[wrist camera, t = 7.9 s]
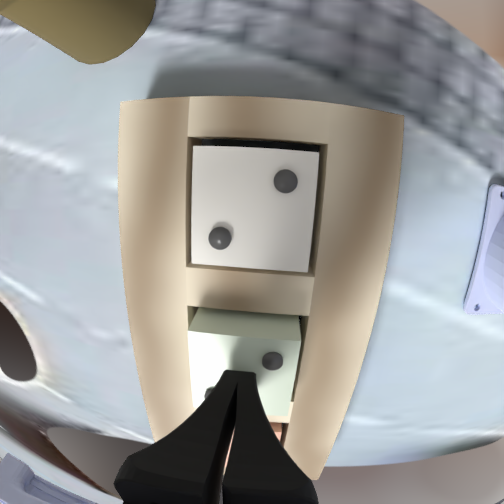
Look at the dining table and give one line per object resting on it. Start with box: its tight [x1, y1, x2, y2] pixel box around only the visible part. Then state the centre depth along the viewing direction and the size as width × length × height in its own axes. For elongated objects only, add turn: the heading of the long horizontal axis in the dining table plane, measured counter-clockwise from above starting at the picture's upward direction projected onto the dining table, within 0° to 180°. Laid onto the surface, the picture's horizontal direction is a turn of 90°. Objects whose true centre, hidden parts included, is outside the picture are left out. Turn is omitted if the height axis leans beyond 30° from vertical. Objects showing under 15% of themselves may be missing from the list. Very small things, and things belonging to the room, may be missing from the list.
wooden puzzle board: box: [118, 96, 404, 480], centre depth 16 cm, size 12×24×2 cm, turn 177°
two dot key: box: [191, 146, 319, 272], centre depth 13 cm, size 5×5×3 cm
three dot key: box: [188, 307, 301, 416], centre depth 15 cm, size 5×5×3 cm
